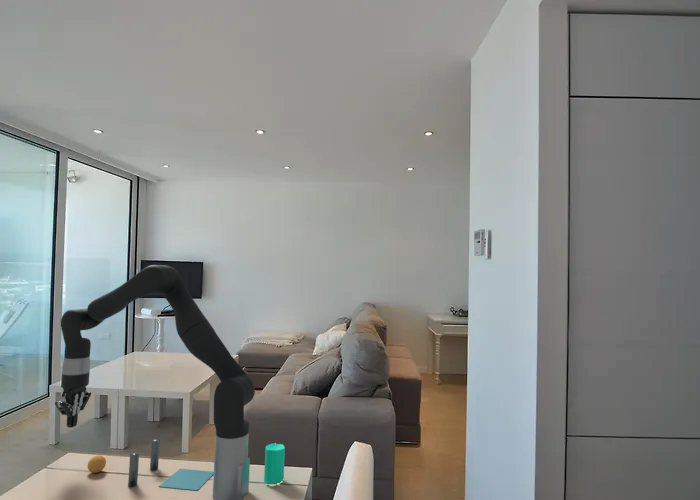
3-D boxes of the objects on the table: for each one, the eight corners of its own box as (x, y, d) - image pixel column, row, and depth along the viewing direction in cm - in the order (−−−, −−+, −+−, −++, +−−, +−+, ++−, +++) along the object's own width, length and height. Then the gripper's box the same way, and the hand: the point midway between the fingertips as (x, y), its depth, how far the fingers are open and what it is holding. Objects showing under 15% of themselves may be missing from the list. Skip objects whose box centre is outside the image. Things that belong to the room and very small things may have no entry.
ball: (109, 469, 136) (110, 453, 137) (97, 476, 131) (99, 459, 132) (94, 468, 137) (95, 451, 137) (83, 475, 132) (84, 458, 132)
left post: (138, 483, 128) (140, 452, 128) (133, 487, 125) (135, 455, 126) (131, 482, 128) (133, 451, 129) (126, 486, 126) (128, 455, 126)
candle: (279, 487, 128) (281, 446, 129) (260, 485, 129) (262, 444, 130) (286, 478, 134) (288, 439, 134) (268, 476, 135) (270, 437, 136)
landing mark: (215, 472, 136) (215, 471, 136) (197, 490, 124) (197, 490, 124) (180, 469, 138) (180, 468, 138) (158, 486, 126) (158, 486, 126)
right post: (159, 467, 138) (161, 439, 139) (155, 471, 136) (157, 442, 137) (152, 467, 139) (154, 438, 139) (148, 470, 136) (150, 441, 137)
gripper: (70, 376, 130) (66, 435, 129) (101, 367, 143) (97, 420, 142) (48, 375, 131) (43, 433, 130) (80, 366, 144) (76, 419, 143)
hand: (71, 426), depth 136 cm, fingers closed
